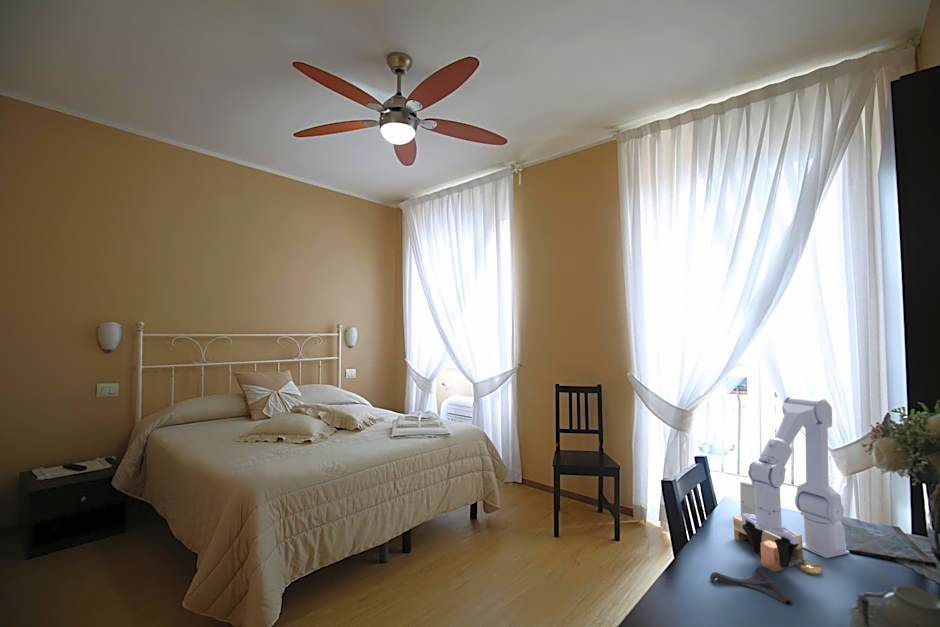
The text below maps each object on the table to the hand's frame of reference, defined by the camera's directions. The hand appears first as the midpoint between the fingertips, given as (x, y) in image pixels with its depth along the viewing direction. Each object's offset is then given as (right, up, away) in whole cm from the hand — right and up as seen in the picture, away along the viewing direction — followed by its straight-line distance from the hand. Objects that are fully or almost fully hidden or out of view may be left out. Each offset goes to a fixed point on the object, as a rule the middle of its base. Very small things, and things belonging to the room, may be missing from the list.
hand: (770, 559), depth 114 cm
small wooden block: (+4, -2, +2) cm, 5 cm away
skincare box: (+15, -4, +30) cm, 34 cm away
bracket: (-12, -3, -7) cm, 14 cm away
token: (+9, -2, -2) cm, 10 cm away
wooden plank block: (+6, -3, +10) cm, 12 cm away
